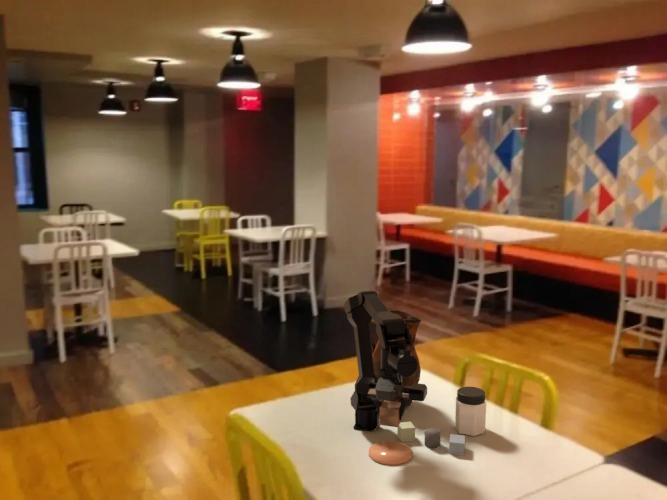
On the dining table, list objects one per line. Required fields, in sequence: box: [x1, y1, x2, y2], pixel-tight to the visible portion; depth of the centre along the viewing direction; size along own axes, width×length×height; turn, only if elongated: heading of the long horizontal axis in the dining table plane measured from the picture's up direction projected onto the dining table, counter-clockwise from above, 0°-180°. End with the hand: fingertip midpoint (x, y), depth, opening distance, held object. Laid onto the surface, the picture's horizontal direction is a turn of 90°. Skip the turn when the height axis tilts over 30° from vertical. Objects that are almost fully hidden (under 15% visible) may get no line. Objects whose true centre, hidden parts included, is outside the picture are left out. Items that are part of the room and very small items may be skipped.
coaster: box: [368, 440, 413, 466], centre depth 172 cm, size 12×12×1 cm
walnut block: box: [378, 400, 402, 428], centre depth 170 cm, size 5×5×5 cm
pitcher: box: [370, 310, 422, 408], centre depth 205 cm, size 17×21×30 cm
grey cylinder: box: [424, 427, 442, 450], centre depth 177 cm, size 4×4×4 cm
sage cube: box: [396, 421, 416, 443], centre depth 181 cm, size 4×4×4 cm
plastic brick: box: [448, 433, 466, 456], centre depth 174 cm, size 4×5×4 cm
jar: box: [454, 386, 487, 437], centre depth 186 cm, size 9×8×12 cm
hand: (390, 418), depth 170 cm, fingers closed on walnut block, 5 cm apart
